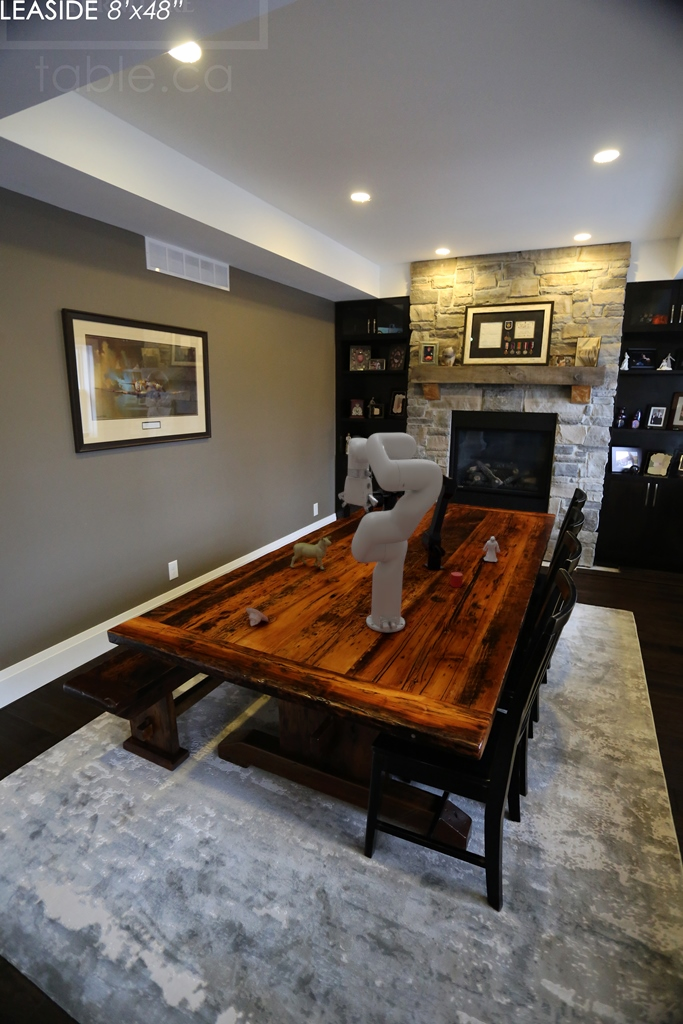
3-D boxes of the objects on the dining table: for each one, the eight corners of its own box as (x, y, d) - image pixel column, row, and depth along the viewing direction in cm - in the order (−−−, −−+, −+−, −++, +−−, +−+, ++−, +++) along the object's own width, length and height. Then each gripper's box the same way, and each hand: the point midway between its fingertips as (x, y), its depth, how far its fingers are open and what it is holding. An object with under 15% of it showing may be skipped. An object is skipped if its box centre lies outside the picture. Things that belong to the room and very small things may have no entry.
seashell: (251, 634, 162) (235, 615, 161) (262, 623, 165) (246, 604, 164) (262, 630, 156) (245, 610, 155) (273, 618, 159) (257, 599, 158)
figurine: (481, 562, 222) (483, 536, 219) (482, 556, 230) (484, 531, 227) (499, 564, 220) (501, 538, 217) (499, 558, 228) (501, 533, 225)
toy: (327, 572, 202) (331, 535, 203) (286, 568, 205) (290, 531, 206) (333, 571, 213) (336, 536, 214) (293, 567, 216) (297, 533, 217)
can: (456, 582, 199) (457, 571, 198) (464, 586, 195) (465, 575, 194) (447, 584, 197) (448, 572, 196) (455, 588, 193) (455, 576, 192)
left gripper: (384, 475, 175) (382, 522, 179) (346, 469, 185) (345, 513, 190) (371, 477, 169) (369, 526, 173) (333, 471, 180) (332, 517, 184)
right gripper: (374, 513, 193) (373, 551, 196) (419, 511, 197) (417, 548, 201) (365, 506, 203) (364, 543, 207) (408, 504, 208) (407, 540, 212)
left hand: (356, 519), depth 182 cm, fingers open, 9 cm apart
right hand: (388, 544), depth 206 cm, fingers open, 9 cm apart
